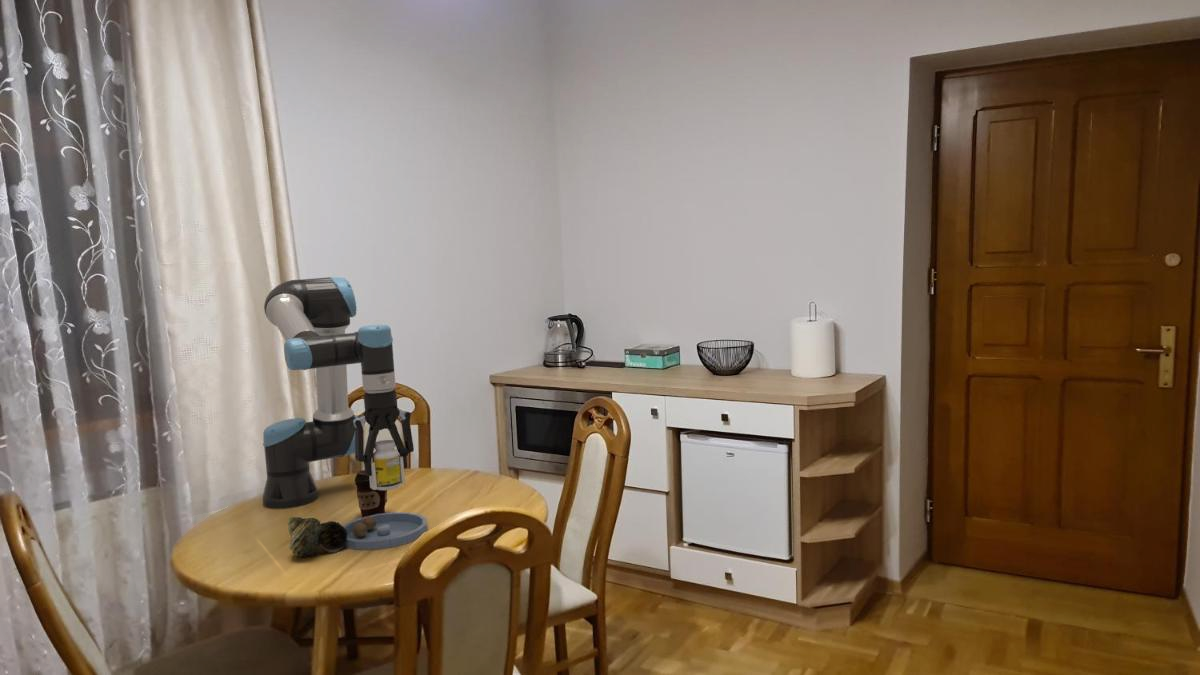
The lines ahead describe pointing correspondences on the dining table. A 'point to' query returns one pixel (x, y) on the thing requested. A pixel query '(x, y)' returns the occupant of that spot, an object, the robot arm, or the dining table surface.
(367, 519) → the walnut bead
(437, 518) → the dining table surface
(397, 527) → the ring tray
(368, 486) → the coffee cup
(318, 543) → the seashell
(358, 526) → the walnut bead
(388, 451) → the pill bottle
